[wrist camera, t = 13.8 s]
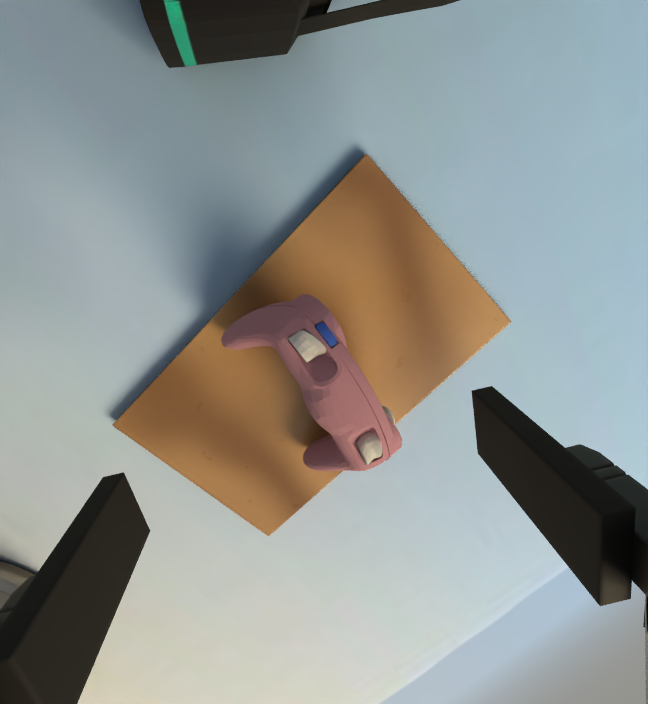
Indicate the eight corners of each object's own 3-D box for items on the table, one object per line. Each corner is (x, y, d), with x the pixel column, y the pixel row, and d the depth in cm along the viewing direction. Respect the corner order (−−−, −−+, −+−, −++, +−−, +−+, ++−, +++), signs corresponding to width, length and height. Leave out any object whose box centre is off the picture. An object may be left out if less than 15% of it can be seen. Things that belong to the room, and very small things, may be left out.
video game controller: (359, 420, 26) (436, 452, 20) (304, 468, 25) (368, 520, 18) (277, 285, 23) (338, 273, 17) (209, 331, 21) (247, 336, 15)
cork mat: (269, 531, 27) (268, 536, 27) (115, 421, 24) (111, 425, 23) (507, 319, 23) (512, 321, 23) (365, 154, 20) (366, 153, 20)
